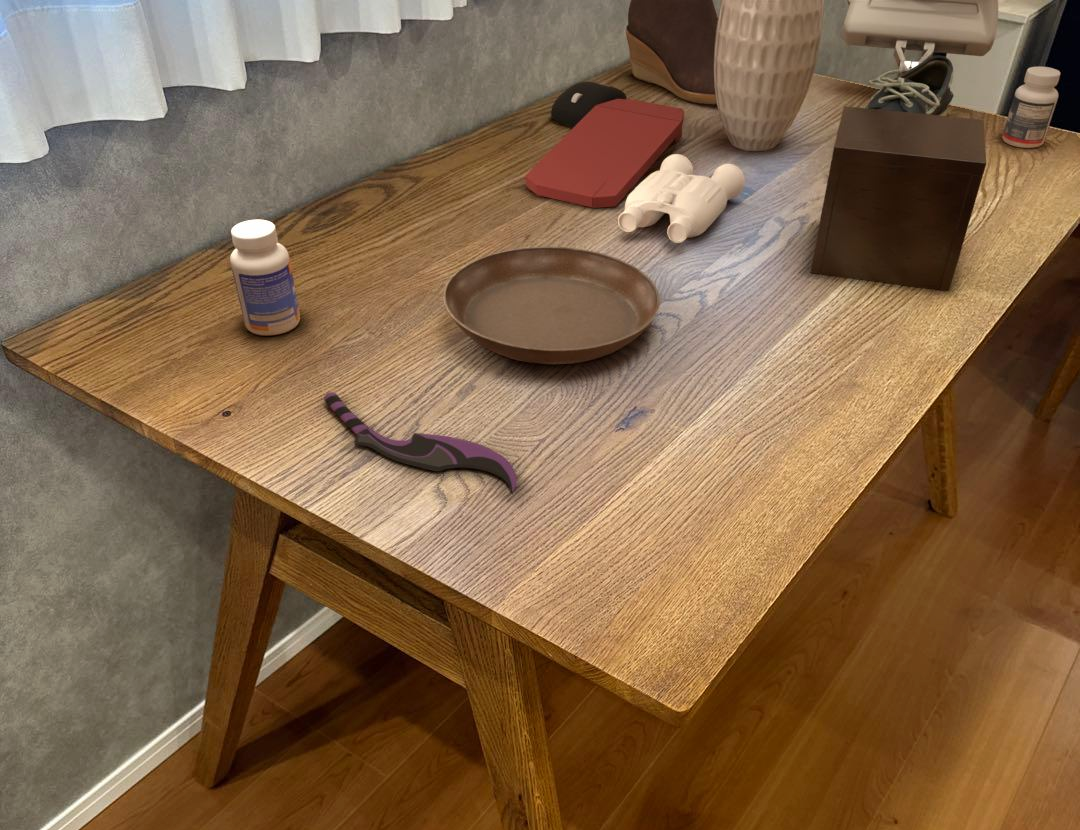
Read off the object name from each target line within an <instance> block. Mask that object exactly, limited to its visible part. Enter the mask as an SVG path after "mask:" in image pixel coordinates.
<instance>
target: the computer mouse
mask: <svg viewBox="0 0 1080 830" xmlns="http://www.w3.org/2000/svg"><path fill="white" fill-rule="evenodd" d="M615 99H624V100H625V99H628V97H627V95H626V93H625V92H624V91H622V90H621V89H619V88H617V87H615V86H612V85H608V84H605V83H600V82H595V81H581V82H577V83H574V84H572V85H570V86H569V87H568V88H566V89H565V90H564V91H563V92H561V93H560V94H559V96H558V97H556V99H555V101H554V102H553V104H552V107H551V110H550V117H551V119H552V120H554V121H555V122H558V123H561V124H564V125H567V126H570V127H573V128H574V127H575V126H576V125H577V124H578V123H579V122H580V121H581V120H582V119H583V118H584V117H585V116H586V115H587V114H588V113H589V112H590V111H591V110H592V109H593V108H594V107H595V106H596V105H598V104H601V103H605V102H608V101H612V100H615Z"/></svg>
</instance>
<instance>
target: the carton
mask: <svg viewBox="0 0 1080 830" xmlns="http://www.w3.org/2000/svg"><path fill="white" fill-rule="evenodd" d="M684 121H685V110H684V109H683V108H681V107H677V106H676V107H675V106H670V105H664V104H660V103H654V102H648V101H642V100H637V99H631V98H627V99H625V100H624V99H615V100H612V101H608V102H605V103H601V104H598V105H596V106H595V107H594V108H593V109H592V110H591V111H590V112H589V113H588V114H587V115H586V116H585V117H584V118H583V119H582V120H581V121H580V122H579V123H578V124H577V125H576V126H575V127H574V126H573V128H571V129H570V130H569V131H568V132H567V133H566V134H565V135H564V136H563V137H562V138H561V140H559V141H558V142H557V143H556V144H555V145H554V147H552V148H551V149H550V150H549V151H548V152H547V153H546V154H545V155H544V156H543V157H542V158H541V159H540V160H539V161H538V162H537V163H536V164H535V165H534V166H533V167H532V168H531V169H530V170H529V171H528V172H527V173H526V174H525V175H524V181H525V187H527V188H528V189H529V190H530V191H531V192H532V193H534V194H535V195H536V196H540V197H545V198H549V199H553V200H558V201H562V202H567V203H571V204H574V205H580V206H584V207H588V208H592V209H595V208H596V209H597V208H609V207H617V205H618V204H620V202H621V201H622V200H623V199H624V198H625V196H626V195H627V194H628V193H629V192H630V190H632V188H633V187H634V186H635V185H636V184H637V183H638V182H639V181H640V180H641V178H643V176H644V175H645V173H646V172H648V170H649V169H650V168H651V167H652V166H653V165H654V163H655V162H656V161H657V160H658V159H659V158H660V156H661V155H662V154H663V153H664V152H665V151H666V150H667V148H668V147H669V146H671V144H673V145H676V144H677V143H679V141H680V140H681V139H682V137H683V125H684Z"/></svg>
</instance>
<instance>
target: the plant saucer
mask: <svg viewBox="0 0 1080 830" xmlns="http://www.w3.org/2000/svg"><path fill="white" fill-rule="evenodd" d="M444 286H445V287H444V289H443V296H442V297H443V303H444V306H445V309H446V311H447V312H448V314H449V315H450V318H451V319H452V320H453V321H454V323H455V324H456V325H457V326H458V327H459V328H460V330H462V331H463V332H464V334H466V335H467V336H468V337H469V338H470V339H472V340H473V341H474V342H476V343H477V344H479V345H480V346H482V347H483V348H485V349H486V350H489V351H491V352H493V353H496V354H497V355H500V356H502V357H505V358H509V359H511V360H515V361H520V362H524V363H530V364H531V363H532V364H540V365H541V364H542V365H570V364H578V363H584V362H588V361H592V360H596V359H599V358H602V357H605V356H608V355H610V354H612V353H614V352H617V351H618V350H620V349H622V348H623V347H625V346H627V345H628V344H630V343H632V342H633V341H634V340H635V339H637V338H638V337H639V336H640V335H641V334H642V333H644V332H645V331H646V329H647V328H648V327H649V326H650V325H651V323H652V322H653V321H654V319H655V318H656V316H657V314H658V313H659V311H660V306H661V296H660V292H659V289H658V288H657V285H656V284H655V283H654V281H653V280H652V279H651V278H650V277H649V276H648V275H647V274H645V272H643V271H642V270H640V269H639V268H638V267H636V266H634V265H633V264H631V263H629V262H626V261H625V260H623V259H620V258H617V257H615V256H612V255H609V254H605V253H602V252H599V251H593V250H589V249H583V248H576V247H566V246H528V247H520V248H518V247H517V248H512V249H506V250H503V251H499V252H495V253H491V254H488V255H485V256H481V257H480V258H477V259H475V260H473V261H470V262H469V263H467V264H465V265H464V266H462V267H461V268H459V269H458V270H457V271H456V272H454V273H453V274H452V276H450V278H449V279H448V281H447V282H446V284H445V285H444Z"/></svg>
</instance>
